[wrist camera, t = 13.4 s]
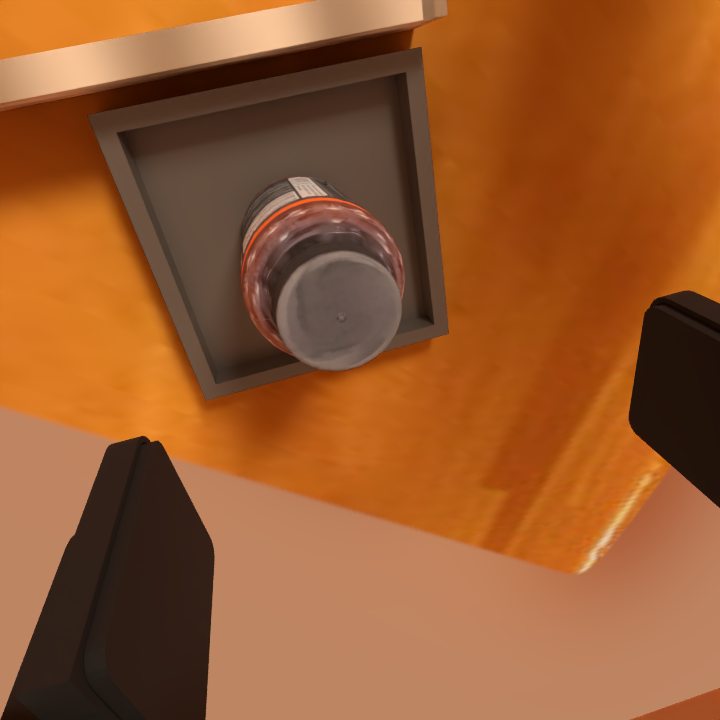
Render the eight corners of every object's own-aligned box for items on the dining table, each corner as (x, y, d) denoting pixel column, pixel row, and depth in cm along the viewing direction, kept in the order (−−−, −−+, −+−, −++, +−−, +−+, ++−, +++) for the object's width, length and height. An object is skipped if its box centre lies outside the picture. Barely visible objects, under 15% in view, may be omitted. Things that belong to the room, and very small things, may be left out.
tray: (406, 51, 22) (421, 46, 21) (435, 319, 29) (449, 333, 28) (99, 114, 21) (86, 115, 19) (207, 381, 28) (206, 400, 26)
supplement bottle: (375, 254, 26) (461, 343, 16) (281, 310, 26) (309, 431, 16) (320, 147, 23) (384, 179, 13) (214, 213, 23) (199, 290, 13)
